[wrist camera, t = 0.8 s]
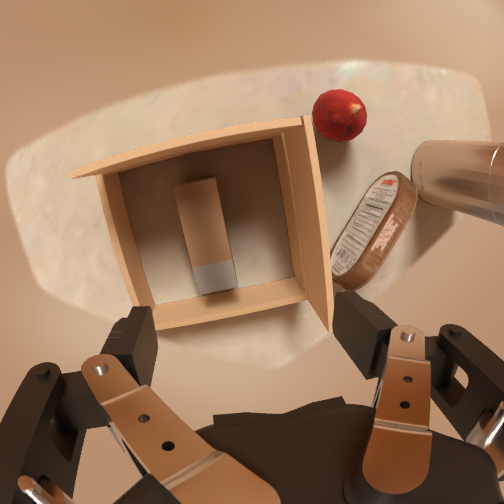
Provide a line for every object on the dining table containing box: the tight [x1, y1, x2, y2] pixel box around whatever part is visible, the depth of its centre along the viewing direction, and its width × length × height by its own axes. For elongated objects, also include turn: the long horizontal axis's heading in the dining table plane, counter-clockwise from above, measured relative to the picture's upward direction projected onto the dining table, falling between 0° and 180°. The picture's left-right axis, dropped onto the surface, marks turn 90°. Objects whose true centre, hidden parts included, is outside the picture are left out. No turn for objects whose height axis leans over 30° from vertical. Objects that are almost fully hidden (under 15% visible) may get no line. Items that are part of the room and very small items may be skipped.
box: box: [173, 175, 238, 295], centre depth 31 cm, size 4×11×6 cm, turn 10°
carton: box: [69, 115, 334, 333], centre depth 28 cm, size 20×19×12 cm
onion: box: [312, 89, 367, 142], centre depth 27 cm, size 6×6×8 cm
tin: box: [330, 171, 418, 291], centre depth 31 cm, size 15×3×8 cm, turn 149°
